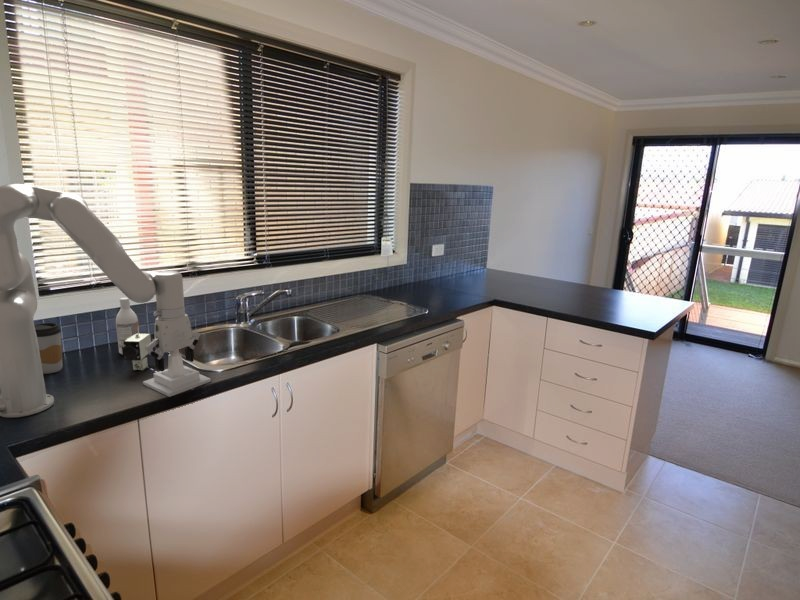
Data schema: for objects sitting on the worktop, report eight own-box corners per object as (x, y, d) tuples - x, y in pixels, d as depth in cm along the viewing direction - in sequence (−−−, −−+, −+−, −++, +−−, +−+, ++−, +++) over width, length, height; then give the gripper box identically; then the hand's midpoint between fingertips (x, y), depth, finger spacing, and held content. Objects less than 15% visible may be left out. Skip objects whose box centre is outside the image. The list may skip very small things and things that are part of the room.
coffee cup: (58, 363, 164) (51, 320, 160) (71, 368, 160) (65, 325, 156) (30, 371, 157) (22, 326, 153) (43, 377, 153) (36, 331, 149)
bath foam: (142, 353, 175) (136, 299, 170) (120, 356, 171) (114, 301, 166) (139, 347, 181) (134, 295, 176) (118, 350, 177) (112, 297, 172)
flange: (169, 396, 143) (168, 385, 142) (142, 384, 151) (141, 373, 150) (210, 381, 154) (210, 371, 153) (184, 370, 162) (183, 360, 161)
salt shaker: (189, 380, 152) (186, 347, 149) (170, 385, 148) (167, 351, 146) (182, 375, 156) (179, 342, 153) (164, 379, 152) (161, 346, 149)
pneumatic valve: (155, 361, 168) (152, 328, 165) (139, 375, 157) (135, 340, 154) (139, 361, 168) (136, 328, 165) (121, 375, 156) (117, 339, 153)
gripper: (150, 320, 138) (155, 377, 142) (204, 308, 152) (207, 360, 156) (135, 315, 142) (141, 370, 146) (189, 304, 156) (193, 354, 160)
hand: (175, 365), depth 151 cm, fingers open, 9 cm apart
